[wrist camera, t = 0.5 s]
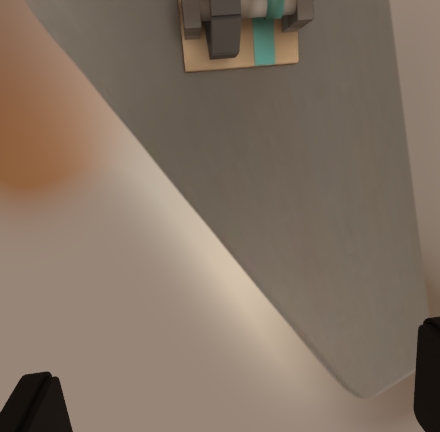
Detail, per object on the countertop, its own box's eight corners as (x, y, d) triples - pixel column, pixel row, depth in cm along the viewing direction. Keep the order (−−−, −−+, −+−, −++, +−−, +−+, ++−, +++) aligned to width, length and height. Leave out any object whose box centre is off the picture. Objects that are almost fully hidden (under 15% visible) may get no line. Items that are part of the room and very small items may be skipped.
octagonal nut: (200, -30, 31) (204, -68, 24) (224, -31, 31) (236, -70, 24) (208, 63, 33) (214, 51, 26) (231, 61, 33) (243, 48, 26)
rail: (175, -30, 32) (173, -60, 26) (292, -37, 32) (315, -68, 27) (185, 72, 34) (186, 65, 28) (295, 63, 35) (317, 54, 29)
